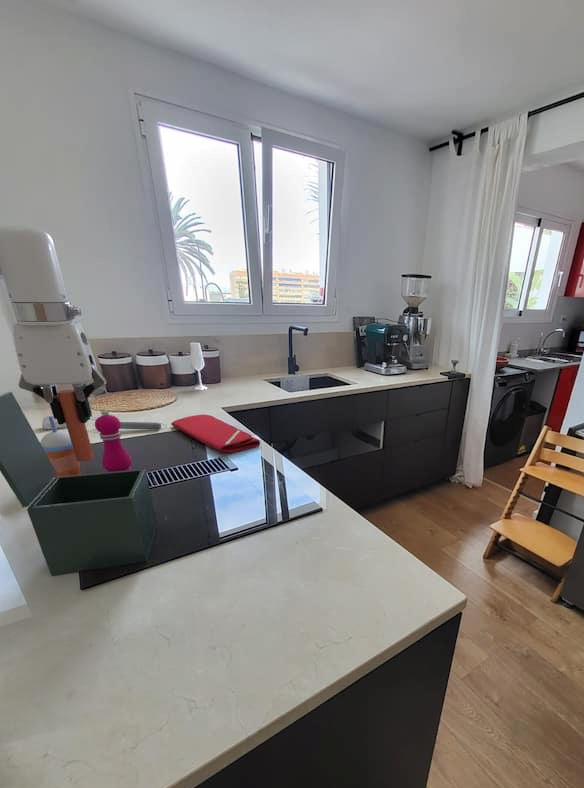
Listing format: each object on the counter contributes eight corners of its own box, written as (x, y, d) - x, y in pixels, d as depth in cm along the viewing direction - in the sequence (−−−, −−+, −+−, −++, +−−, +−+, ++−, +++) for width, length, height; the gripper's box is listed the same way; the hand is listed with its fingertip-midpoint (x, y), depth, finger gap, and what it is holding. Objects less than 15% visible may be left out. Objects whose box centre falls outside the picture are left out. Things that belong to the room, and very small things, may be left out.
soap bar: (48, 438, 150) (38, 426, 146) (46, 429, 154) (36, 418, 150) (76, 427, 153) (66, 415, 149) (74, 418, 157) (65, 407, 153)
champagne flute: (201, 390, 212) (195, 344, 202) (192, 389, 214) (185, 343, 204) (210, 387, 217) (204, 343, 208) (200, 386, 219) (194, 342, 210)
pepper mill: (124, 469, 119) (108, 405, 111) (140, 474, 116) (125, 408, 108) (100, 478, 113) (82, 411, 105) (116, 483, 110) (99, 415, 102)
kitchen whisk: (165, 431, 150) (162, 415, 148) (66, 436, 144) (61, 419, 141) (168, 426, 156) (166, 411, 153) (73, 430, 149) (69, 414, 147)
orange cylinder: (74, 462, 73) (54, 393, 68) (79, 456, 75) (60, 390, 70) (91, 460, 74) (72, 392, 68) (96, 455, 76) (78, 389, 71)
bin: (157, 526, 91) (145, 468, 85) (147, 561, 79) (131, 497, 73) (75, 536, 87) (56, 476, 81) (51, 576, 75) (26, 509, 69)
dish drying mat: (209, 419, 166) (208, 410, 164) (261, 445, 140) (261, 435, 138) (171, 427, 155) (169, 418, 154) (220, 457, 129) (219, 446, 128)
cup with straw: (43, 478, 112) (23, 417, 105) (78, 467, 119) (62, 410, 112) (56, 487, 107) (36, 424, 100) (93, 475, 114) (76, 416, 107)
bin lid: (11, 391, 73) (6, 392, 72) (-31, 411, 61) (-37, 413, 61) (57, 474, 80) (53, 475, 80) (28, 506, 69) (23, 507, 68)
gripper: (106, 313, 70) (129, 413, 77) (-4, 312, 65) (31, 418, 73) (94, 316, 63) (119, 424, 71) (-30, 315, 59) (11, 431, 66)
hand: (74, 420), depth 71 cm, fingers closed on orange cylinder, 2 cm apart
